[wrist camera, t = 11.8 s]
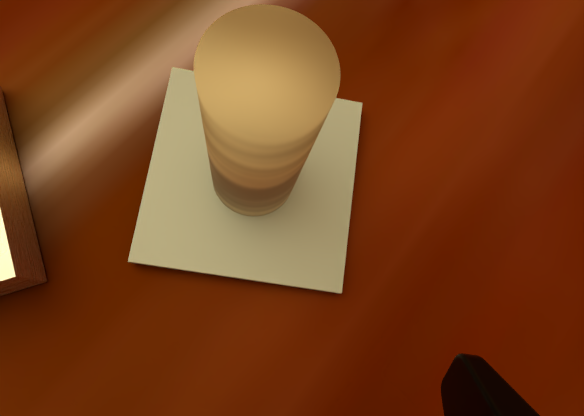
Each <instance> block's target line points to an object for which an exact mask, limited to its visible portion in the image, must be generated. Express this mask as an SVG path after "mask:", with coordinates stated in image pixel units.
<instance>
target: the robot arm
mask: <svg viewBox="0 0 584 416" xmlns="http://www.w3.org/2000/svg"><path fill="white" fill-rule="evenodd" d="M441 396H442V403H443V410H444V416H540V415H539V414H538V413H537V412H536V411H535V410H534V409H533V408H532V407H531V406H530V405H529V404H528V403H527V402H526V401H525V400H524V399H523V398H522V397H521V396H520V395H519V394H518V393H517V392H516V391H515V390H514V389H513V388H512V387H511V386H510V385H509V384H508V383H507V382H506V381H505V380H504V379H503V378H502V377H501V376H500V375H499V374H498V373H497V372H496V371H495V370H494V369H493V368H492V367H491V366H490V365H489V364H488V363H487V362H486V361H485V360H484V359H483V358H481V357H480V356H477V355H470V354H458V355H457V356H456V357H455V358H454V360H453V362H452V364H451V366H450V367H449V369H448V371H447V373H446V375H445V376H444V378H443V380H442V384H441Z"/></svg>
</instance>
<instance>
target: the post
mask: <svg viewBox="0 0 584 416" xmlns="http://www.w3.org/2000/svg"><path fill="white" fill-rule="evenodd" d="M194 76H195V82H196V88H197V94H198V99H199V105H200V111H201V117H202V123H203V129H204V134H205V140H206V146H207V152H208V158H209V163H210V169H211V175H212V181H213V186H214V189H215V192H216V194H217V196H218V197H219V199H220V200H221V201H222V203H223V204H224V205H225V206H227V207H228V208H229V209H231V210H232V211H234V212H236V213H239V214H241V215H246V216H262V215H266V214H269V213H271V212H273V211H275V210H277V209H278V208H279V207H281V206H282V205H283V204H284V203H285V202H286V200H287V199H288V197H289V195H290V193H291V191H292V189H293V187H294V185H295V183H296V181H297V179H298V177H299V174H300V172H301V170H302V168H303V166H304V164H305V162H306V160H307V158H308V156H309V153H310V151H311V149H312V147H313V145H314V143H315V141H316V139H317V137H318V134H319V132H320V130H321V128H322V126H323V124H324V122H325V120H326V118H327V115H328V113H329V111H330V109H331V107H332V105H333V103H334V101H335V99H336V96H337V93H338V90H339V85H340V64H339V60H338V56H337V54H336V51H335V48H334V47H333V45H332V43H331V41H330V40H329V38H328V37H327V35H326V34H325V33H324V32H323V31H322V30H321V28H320V27H319V26H317V25H316V24H315V23H314V22H313V21H311V20H310V19H308V18H307V17H305V16H304V15H302V14H300V13H298V12H296V11H293V10H291V9H288V8H284V7H281V6H275V5H264V4H259V5H250V6H245V7H241V8H238V9H235V10H232V11H230V12H228V13H226V14H225V15H223V16H221V17H220V18H218V19H217V20H216V21H215V22H214V23H213V24H211V26H210V27H209V28H208V29H207V30H206V31H205V33H204V34H203V36H202V37H201V39H200V41H199V44H198V46H197V49H196V53H195V58H194Z"/></svg>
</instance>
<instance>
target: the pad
mask: <svg viewBox="0 0 584 416" xmlns="http://www.w3.org/2000/svg"><path fill="white" fill-rule="evenodd" d="M361 111H362V103H359V102H354V101H349V100H343V99H338V98H336V99H335V101H334V103H333V105H332V107H331V109H330V111H329V113H328V115H327V118H326V120H325V122H324V124H323V126H322V128H321V130H320V132H319V134H318V137H317V139H316V141H315V143H314V145H313V147H312V149H311V151H310V153H309V156H308V158H307V160H306V162H305V164H304V166H303V168H302V170H301V172H300V174H299V177H298V179H297V181H296V183H295V185H294V187H293V189H292V191H291V193H290V195H289V197H288V199H287V200H286V202H285V203H284V204H283V205H282V206H281V207H279V208H278V209H277V210H275V211H273V212H271V213H269V214H266V215H262V216H246V215H241V214H239V213H236V212H234V211H232V210H231V209H229V208H228V207H227V206H225V205H224V204H223V203H222V201H221V200H220V199H219V197H218V196H217V194H216V192H215V189H214V186H213V181H212V175H211V169H210V163H209V158H208V152H207V146H206V140H205V134H204V129H203V123H202V117H201V111H200V105H199V99H198V94H197V88H196V82H195V76H194V71H190V70H185V69H180V68H175V67H172V70H171V75H170V79H169V84H168V88H167V92H166V97H165V101H164V105H163V110H162V114H161V118H160V123H159V127H158V132H157V136H156V140H155V145H154V149H153V153H152V158H151V162H150V167H149V171H148V175H147V180H146V184H145V188H144V193H143V197H142V202H141V206H140V210H139V215H138V219H137V223H136V228H135V232H134V236H133V241H132V245H131V250H130V254H129V258H128V262H130V263H136V264H142V265H149V266H156V267H163V268H169V269H176V270H183V271H189V272H196V273H203V274H210V275H216V276H223V277H230V278H237V279H243V280H250V281H257V282H263V283H270V284H277V285H284V286H290V287H297V288H304V289H311V290H317V291H324V292H331V293H338V294H340V293H342V287H343V277H344V268H345V259H346V250H347V240H348V231H349V222H350V213H351V203H352V194H353V185H354V176H355V166H356V157H357V148H358V139H359V129H360V120H361Z"/></svg>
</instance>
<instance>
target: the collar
mask: <svg viewBox="0 0 584 416" xmlns="http://www.w3.org/2000/svg"><path fill="white" fill-rule="evenodd" d="M44 282H47V277H46V273H45V269H44V265H43V260H42V256H41V252H40V248H39V244H38V239H37V235H36V231H35V227H34V223H33V218H32V214H31V210H30V206H29V202H28V197H27V193H26V189H25V185H24V180H23V176H22V172H21V168H20V164H19V159H18V155H17V151H16V147H15V143H14V138H13V134H12V130H11V126H10V122H9V117H8V113H7V109H6V105H5V100H4V96H3V92H2V88H1V86H0V296H2V295H6V294H9V293H12V292H15V291H19V290H22V289H25V288H28V287H31V286H35V285H38V284H41V283H44Z"/></svg>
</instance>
